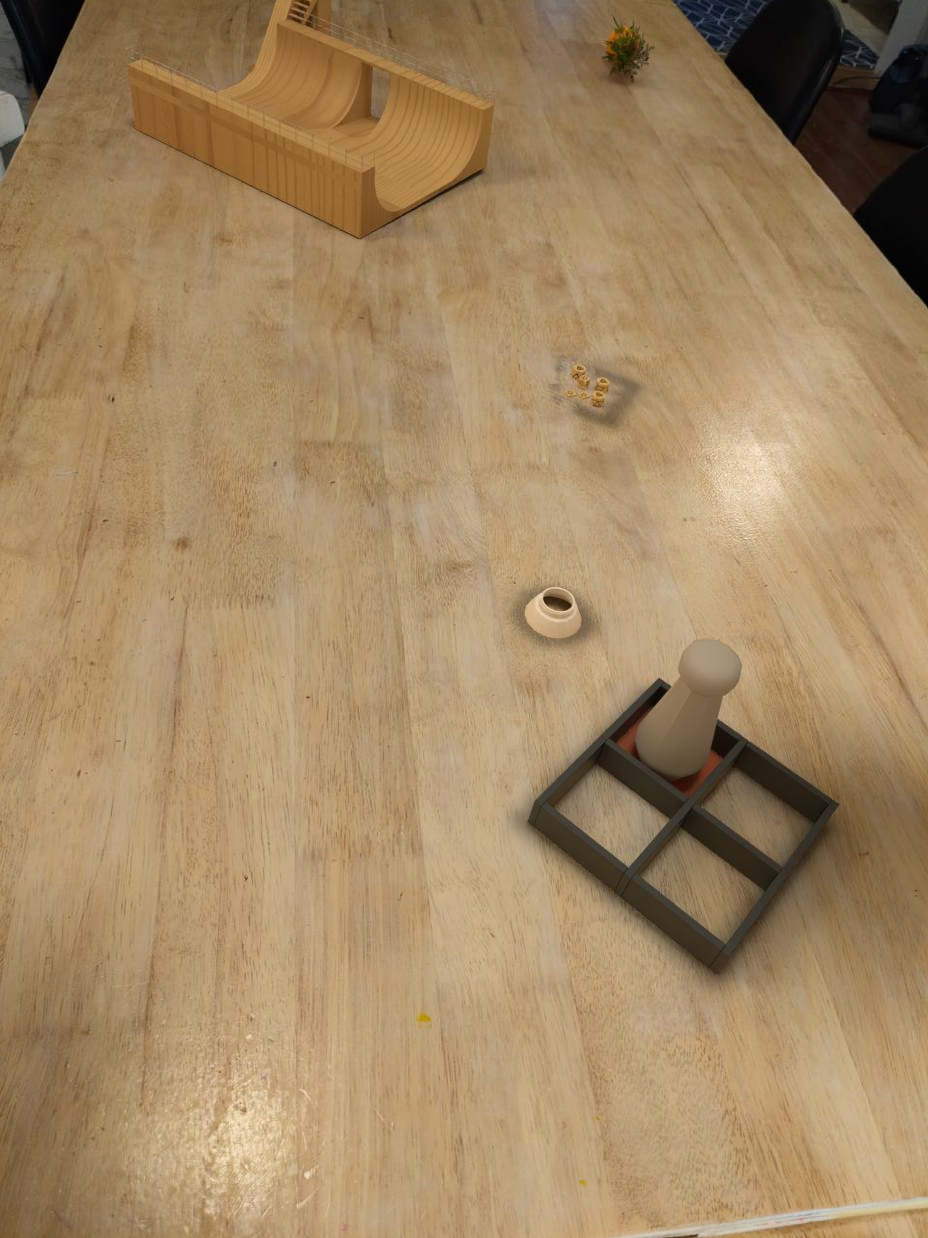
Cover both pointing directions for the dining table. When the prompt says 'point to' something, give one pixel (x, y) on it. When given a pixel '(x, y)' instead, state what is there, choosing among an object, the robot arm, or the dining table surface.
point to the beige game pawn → (688, 711)
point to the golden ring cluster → (584, 382)
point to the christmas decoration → (626, 49)
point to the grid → (681, 822)
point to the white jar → (553, 615)
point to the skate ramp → (321, 124)
